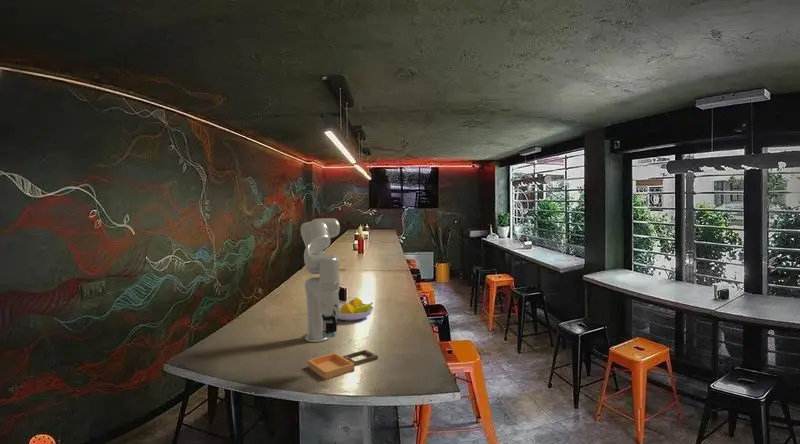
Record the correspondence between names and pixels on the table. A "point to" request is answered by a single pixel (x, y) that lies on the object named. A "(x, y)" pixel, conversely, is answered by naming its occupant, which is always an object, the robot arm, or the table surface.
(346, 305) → the fruit bowl
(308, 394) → the table surface
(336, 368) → the parts tray
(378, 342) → the table surface
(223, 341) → the table surface
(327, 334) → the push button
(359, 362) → the component holder
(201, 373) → the table surface
